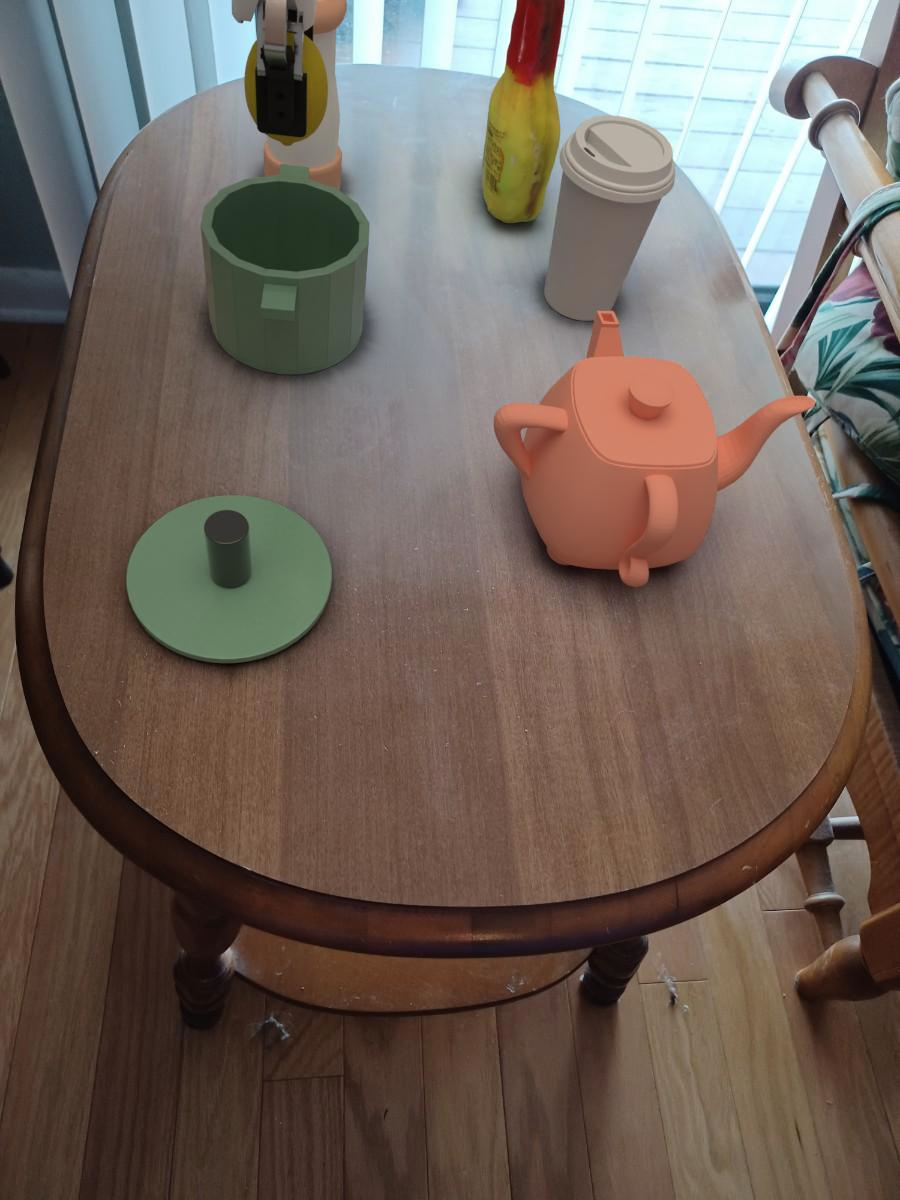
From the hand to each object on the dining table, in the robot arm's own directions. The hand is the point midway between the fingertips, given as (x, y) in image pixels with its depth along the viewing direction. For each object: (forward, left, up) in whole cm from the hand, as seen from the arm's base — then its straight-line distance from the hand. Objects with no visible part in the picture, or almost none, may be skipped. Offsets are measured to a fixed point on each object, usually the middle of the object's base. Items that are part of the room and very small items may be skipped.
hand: (285, 104), depth 65 cm
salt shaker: (0, +21, -19) cm, 28 cm away
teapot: (+26, -17, -19) cm, 37 cm away
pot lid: (-2, -26, -18) cm, 32 cm away
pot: (0, +1, -19) cm, 19 cm away
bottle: (+20, +22, -19) cm, 35 cm away
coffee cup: (+26, +8, -19) cm, 33 cm away
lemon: (0, 0, -3) cm, 3 cm away
